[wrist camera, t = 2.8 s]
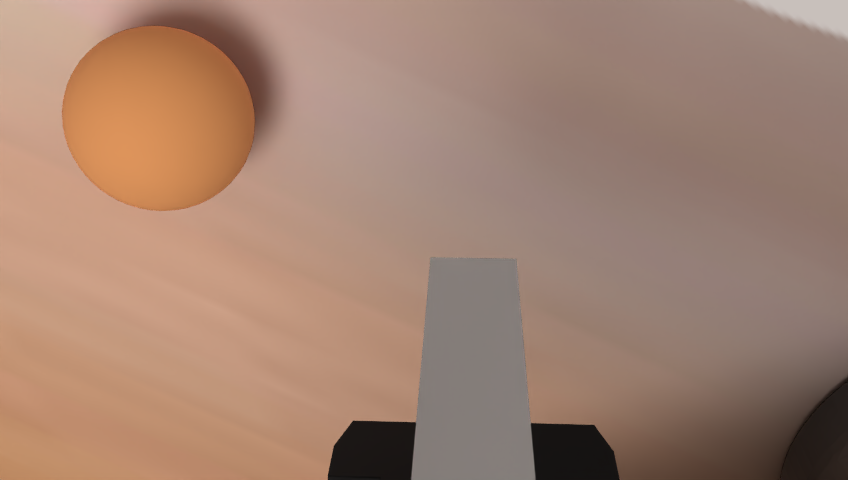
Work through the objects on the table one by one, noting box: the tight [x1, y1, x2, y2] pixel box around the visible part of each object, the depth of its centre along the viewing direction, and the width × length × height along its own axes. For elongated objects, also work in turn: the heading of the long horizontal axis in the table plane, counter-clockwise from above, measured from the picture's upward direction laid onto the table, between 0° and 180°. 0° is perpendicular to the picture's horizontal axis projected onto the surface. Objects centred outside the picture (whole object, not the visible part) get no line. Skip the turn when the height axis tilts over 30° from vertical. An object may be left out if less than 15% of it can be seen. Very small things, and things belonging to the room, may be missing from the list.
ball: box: [62, 26, 255, 211], centre depth 24 cm, size 6×6×6 cm
